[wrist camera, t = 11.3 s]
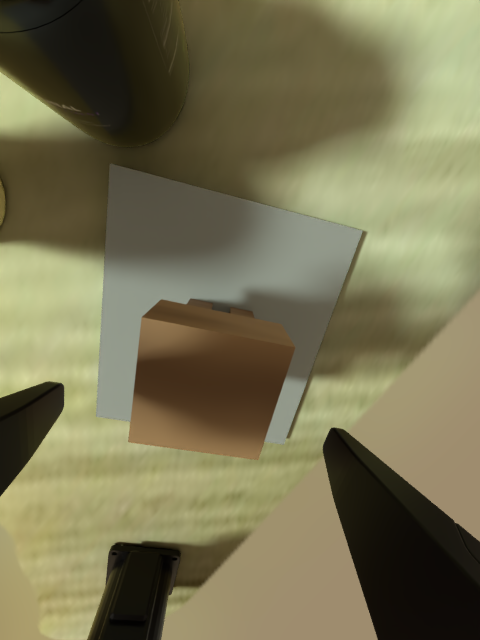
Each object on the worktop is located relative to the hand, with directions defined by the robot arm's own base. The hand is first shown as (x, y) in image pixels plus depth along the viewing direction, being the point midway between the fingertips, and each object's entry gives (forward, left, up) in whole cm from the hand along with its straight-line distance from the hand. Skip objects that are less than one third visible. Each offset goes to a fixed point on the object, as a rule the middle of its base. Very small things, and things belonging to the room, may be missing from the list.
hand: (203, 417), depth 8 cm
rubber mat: (0, 0, -8) cm, 8 cm away
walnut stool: (0, 0, -8) cm, 8 cm away
